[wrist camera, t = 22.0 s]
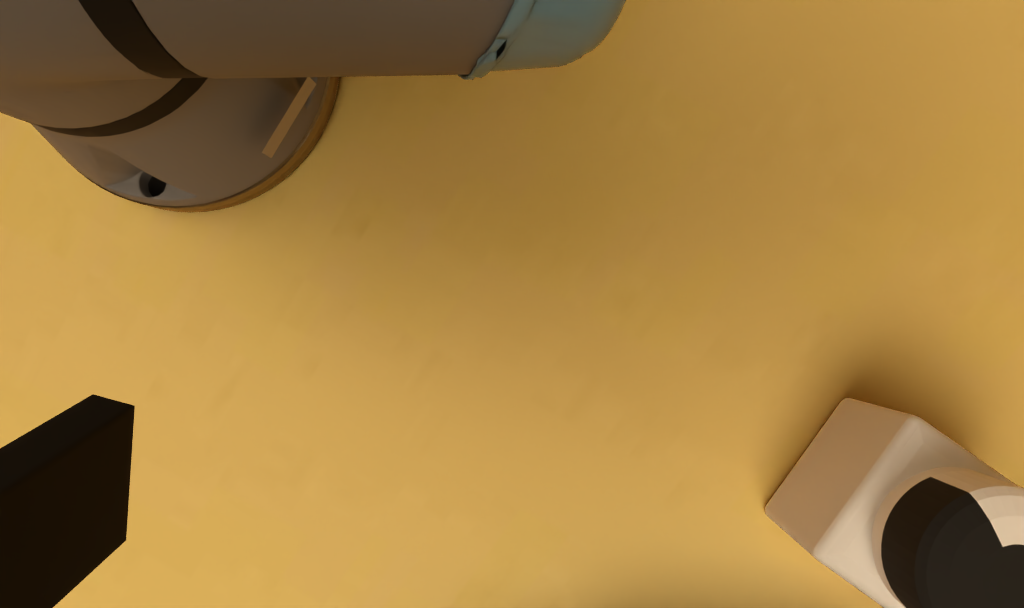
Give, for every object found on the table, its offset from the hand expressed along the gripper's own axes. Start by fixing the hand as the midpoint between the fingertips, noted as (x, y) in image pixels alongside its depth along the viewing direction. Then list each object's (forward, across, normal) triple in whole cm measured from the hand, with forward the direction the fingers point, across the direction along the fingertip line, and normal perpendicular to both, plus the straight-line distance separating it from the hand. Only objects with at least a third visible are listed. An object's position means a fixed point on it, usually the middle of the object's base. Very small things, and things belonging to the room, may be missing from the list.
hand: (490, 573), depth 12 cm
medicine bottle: (+24, +17, -8) cm, 31 cm away
